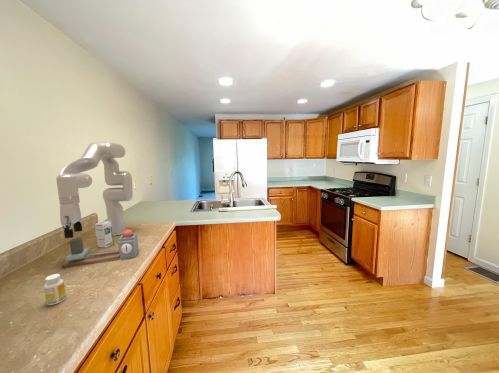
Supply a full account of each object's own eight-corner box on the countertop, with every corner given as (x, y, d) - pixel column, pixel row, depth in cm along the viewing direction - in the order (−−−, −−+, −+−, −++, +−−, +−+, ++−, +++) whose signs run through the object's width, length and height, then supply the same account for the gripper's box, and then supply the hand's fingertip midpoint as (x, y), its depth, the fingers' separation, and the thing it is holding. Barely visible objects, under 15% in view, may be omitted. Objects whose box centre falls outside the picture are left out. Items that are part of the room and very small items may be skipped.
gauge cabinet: (124, 251, 119) (122, 233, 118) (138, 249, 122) (136, 232, 120) (119, 260, 109) (117, 241, 108) (135, 257, 112) (133, 239, 110)
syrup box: (106, 247, 124) (103, 223, 122) (97, 247, 126) (94, 223, 123) (114, 243, 130) (111, 220, 128) (105, 243, 131) (102, 220, 129)
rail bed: (71, 258, 112) (70, 253, 111) (123, 251, 119) (123, 246, 119) (61, 268, 102) (61, 263, 102) (119, 259, 110) (118, 254, 110)
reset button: (124, 234, 116) (123, 230, 115) (133, 233, 117) (132, 229, 117) (122, 237, 112) (121, 233, 111) (131, 236, 113) (131, 231, 113)
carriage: (73, 253, 111) (70, 237, 110) (89, 251, 113) (87, 235, 112) (65, 260, 103) (63, 243, 102) (83, 258, 106) (80, 241, 104)
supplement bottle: (48, 307, 76) (43, 282, 74) (45, 301, 79) (41, 277, 78) (67, 299, 80) (63, 275, 78) (64, 294, 83) (60, 271, 82)
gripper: (68, 198, 111) (73, 230, 113) (50, 204, 94) (55, 241, 97) (85, 196, 113) (89, 228, 115) (70, 203, 97) (75, 239, 99)
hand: (74, 234), depth 106 cm, fingers open, 9 cm apart
